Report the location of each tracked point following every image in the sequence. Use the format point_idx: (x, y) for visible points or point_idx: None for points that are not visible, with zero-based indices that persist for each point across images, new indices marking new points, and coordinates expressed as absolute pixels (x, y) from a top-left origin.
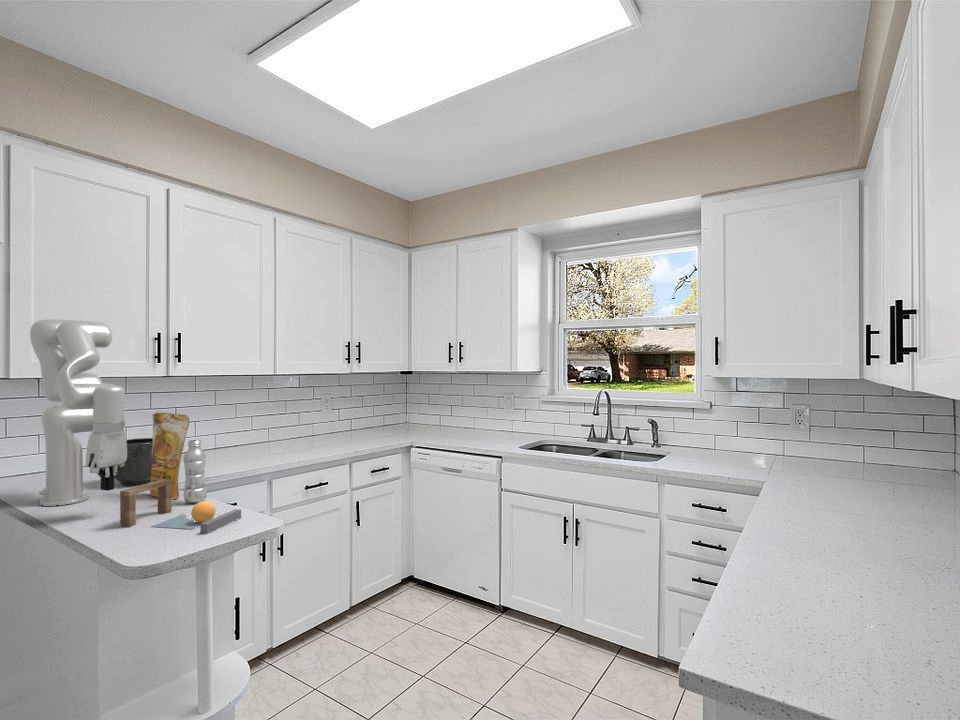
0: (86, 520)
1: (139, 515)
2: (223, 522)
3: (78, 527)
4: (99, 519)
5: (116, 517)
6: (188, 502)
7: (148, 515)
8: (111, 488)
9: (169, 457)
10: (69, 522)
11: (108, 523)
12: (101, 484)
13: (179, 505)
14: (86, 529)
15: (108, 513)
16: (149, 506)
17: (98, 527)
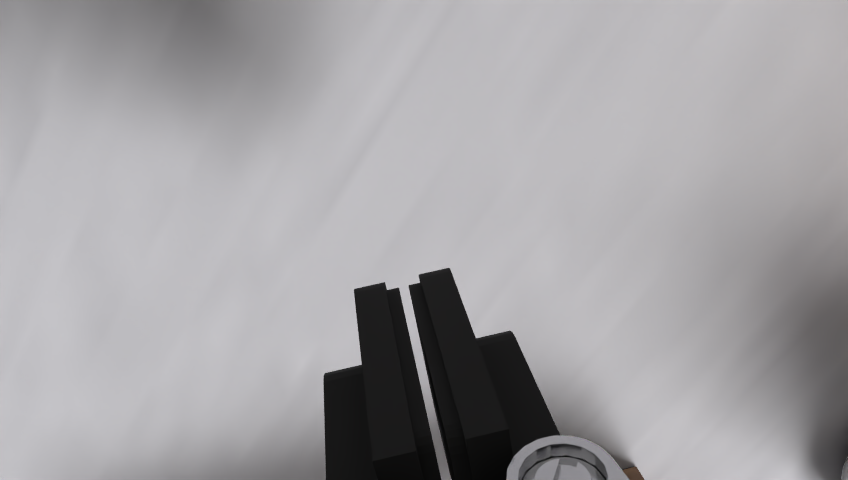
0: (179, 154)
1: None
2: None
3: (15, 330)
4: (265, 240)
5: None
6: (843, 473)
7: None
8: (437, 418)
9: None
10: (33, 54)
11: (230, 430)
12: (328, 414)
13: (807, 419)
14: (33, 445)
15: (445, 97)
16: (748, 227)
17: (122, 469)
